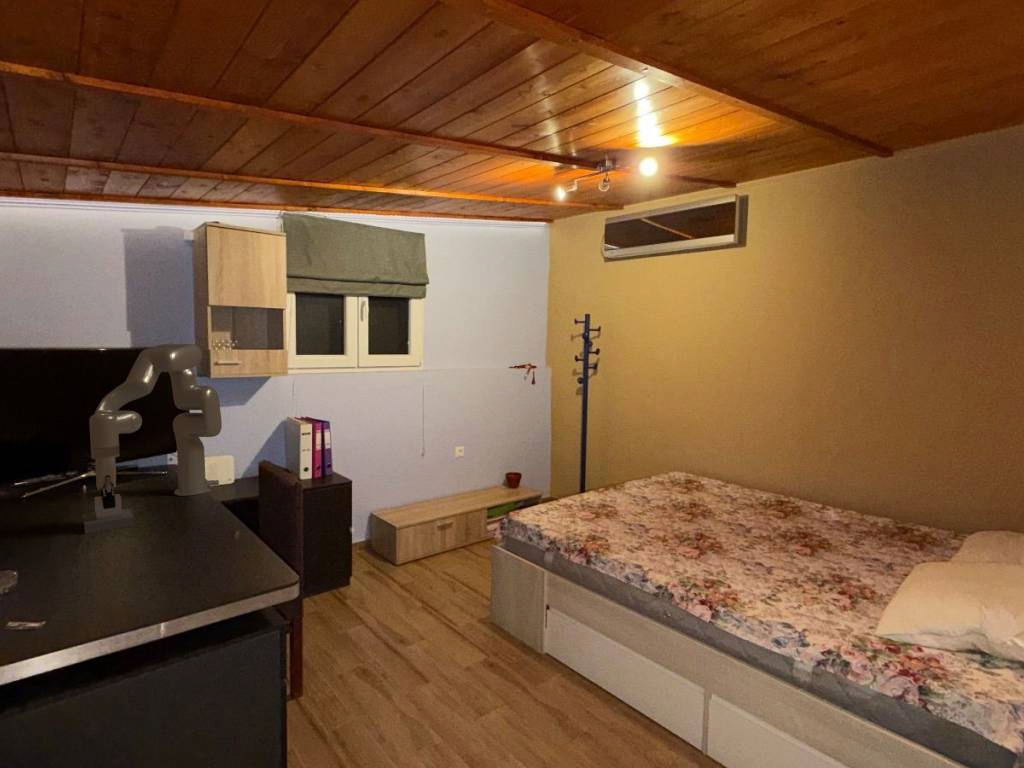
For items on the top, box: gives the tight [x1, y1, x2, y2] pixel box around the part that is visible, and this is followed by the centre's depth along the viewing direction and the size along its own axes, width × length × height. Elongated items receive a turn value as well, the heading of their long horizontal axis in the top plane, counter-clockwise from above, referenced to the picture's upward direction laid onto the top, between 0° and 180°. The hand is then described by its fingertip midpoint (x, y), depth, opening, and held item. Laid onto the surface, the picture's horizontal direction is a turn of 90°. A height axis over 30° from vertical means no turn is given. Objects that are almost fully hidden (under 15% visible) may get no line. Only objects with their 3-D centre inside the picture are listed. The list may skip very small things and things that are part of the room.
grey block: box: [82, 508, 135, 534], centre depth 196 cm, size 13×13×7 cm
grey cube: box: [94, 493, 123, 520], centre depth 196 cm, size 7×7×6 cm
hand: (108, 504), depth 196 cm, fingers open, 9 cm apart
